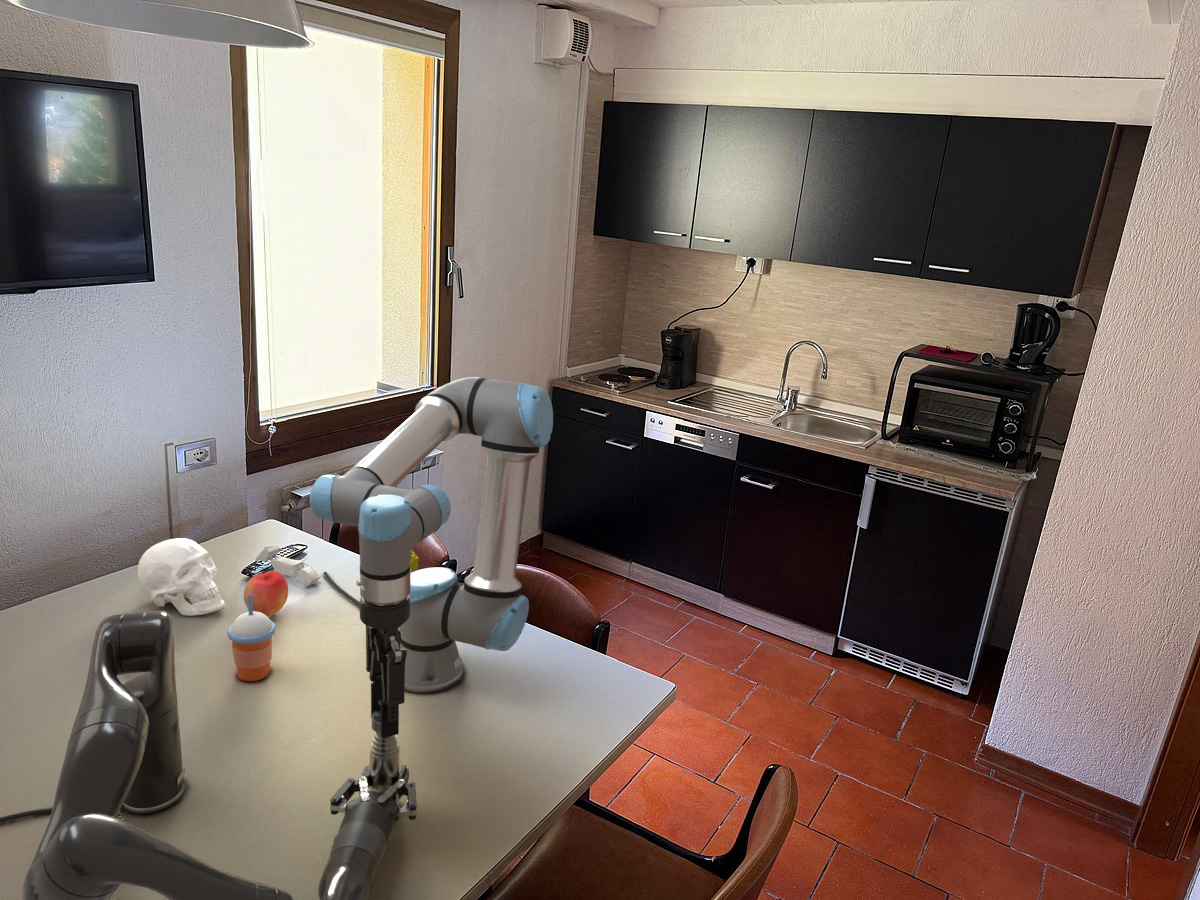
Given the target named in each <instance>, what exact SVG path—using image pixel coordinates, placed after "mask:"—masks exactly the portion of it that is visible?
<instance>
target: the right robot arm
mask: <svg viewBox="0 0 1200 900" xmlns="http://www.w3.org/2000/svg"><path fill="white" fill-rule="evenodd" d="M414 408H415V409H414V413H413V414H412V415H410V416H409V417H408V418H407V419H405V421H404V422H402V423H401V424H400V425H399V426H397V428H396V429H394V430H393V431H392V432H391V433H390V434H389V435H388V436H386V437H385V438H384V439H383V440H382V441H380V442H379V444H377V445H376V446H375V447H374V448H373V449H372V450H371V451H370V452H368V453H367V454H366V455H365V456H364V457H363V458H361V459H360V460H359V461H358V462H357V463H356V464H354V465H353V467H351V468H350V469H349V470H348V471H347V472H346V473H344V474H343V475H341V476H340V475H338V474H324V475H321V476H319V477H318V478H317V479H316V480H315V481H314V483H313V485H312V487H311V489H310V493H309V505H310V510H311V512H312V514H313V515H314V516H315V517H317V518H318V519H322V520H325V521H328V522H332V523H334V524H340V525H346V526H352V527H357V531H358V539H359V540H358V541H359V543H358V544H359V545H358V546H359V579H357V580H356V581H355V582H356V586H357V587H359V595H360V597H359V601H358V600H357V599H355V598H354V597H353V596H352V595H351V594H349V593H348V592H346V591H345V590H344V589H343V588H342V587H340V586H339V585H338V584H337V583H336V582H335V581H334V580H333V578H332V577H331V576H330V575H329V574H328V572H327V571H323V575H324V576H325V578H326V579H327V580H328V581H329V583H330V584H331V585H332V586H333V587H334V588H335V589H336V590H337V591H339V592H340V594H342V595H343V596H344V597H346V598H347V599H349V600H350V601H351V602H353V603H354V604H356V605H357V606H358V607H359V620H360V621H361V623H362V624H363V625H365V663H366V664H365V670H366V672H367V673H369V676H368V677H369V680H370V718H371V719H370V720H372V714H373V713H374V712H375V711H377V710H379V709H381V734H380V736H381V738H385V737H389V736H393V735H396V736H397V735H399V734H400V732H399V731H400V729H399V728H400V705H403V704H405V695H406V693H405V691H407V692H410V693H416V694H430V693H431V694H432V693H438V692H441V691H445V690H447V689H450V688H451V687H453V686H455V685H456V684H457V683H458V682H459V681H460V680H461V679H462V676H463V672H464V664H463V660H462V657H461V656H460V653H459V649H458V646H457V642H459V643H463V644H466V645H467V644H468V645H470V646H471V645H472V646H476V647H479V648H482V649H485V650H489V651H490V650H494V651H499V652H505V651H508V650H510V649H511V648H512V647H513V646H514V645H515V644H516V643H517V641H518V640H519V638H520V636H521V635H522V632H523V630H524V628H525V625H526V623H527V619H528V615H529V610H530V601H529V599H528V597H526V596H525V595H522V594H521V593H522V586H523V585H522V583H521V581H520V580H519V579H518V578H517V575H516V574H517V568H518V567H517V566H518V557H519V549H520V545H521V544H520V543H521V542H520V541H521V535H522V529H523V519H524V512H525V506H526V505H525V504H526V497H527V490H528V489H527V488H528V480H529V473H530V466H531V461H532V460H534V459H535V458H536V457H537V456H538V455H539V454H540V449H541V448H542V447H545V446H547V445H548V444H549V442H550V440H551V434H552V433H553V427H554V409H553V404H552V401H551V397H550V395H549V393H548V392H547V391H546V390H545V388H543V387H540V386H536V385H532V384H528V383H525V382H515V381H506V380H501V379H500V380H498V379H494V378H493V379H492V378H485V377H481V376H467V377H463V378H458V379H456V380H453V381H450V382H448V383H445V384H444V385H441V386H439V387H437V388H435V389H434V390H432V391H430V392H429V393H428V394H427V395H425V396H424V397H422V398H421V400H419V402H417V404H416V405H415V407H414ZM460 434H461V435H462V434H463V435H473V436H477V437H478V436H479V437H481V444H480V448H481V450H483V451H484V453H485V454H486V464H485V465H486V466H485V474H484V481H483V489H482V497H481V504H480V505H481V506H480V512H479V522H478V529H477V536H476V537H477V538H476V545H475V554H474V561H473V570H472V572H471V573H469V574H468V575H467V576H466V577H465V578H464V580H463V581H464V582H460V581H458V580H459V579H458V578H459V577H458V575H457V573H456V571H454V570H453V569H451V568H448V567H434V566H433V567H427V568H421V569H418V570H417V571H415V572H412V573H411V568H410V558H411V550H413V548H414V547H416V546H417V545H418V544H419V543H422V541H424V540H425V539H428V537H430V536H431V535H432V534H434V533H437V532H438V531H439V529H440V528H441V527H442V526H443V525H444V524H445V523H446V522H447V521H448V519H449V518H450V515H451V511H452V507H451V502H450V498H449V497H448V495H447V494H446V492H445V490H443V489H442V488H440V487H439V486H438V485H437V486H436V485H434V484H424V485H423V484H422V485H420V486H417V487H414V488H413V489H409V488H408V489H407V488H403V487H398V485H400V483H401V482H403V481H404V480H405V478H407V477H408V476H409V475H410V474H411V473H412V472H413V471H414V470H415V469H416V468H417V467H418V466H420V464H421V463H422V462H423V461H424V460H425V459H426V458H428V456H429V455H430V454H431V453H432V452H433V451H434V450H435V449H436V448H437V447H438V446H439V445H440V444H441V443H442V442H447V441H450V440H452V439H454V438H455V437H456V436H457V435H460Z"/></svg>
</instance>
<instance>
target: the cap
mask: <svg viewBox="0 0 1200 900" xmlns="http://www.w3.org/2000/svg"><path fill="white" fill-rule="evenodd" d="M371 730H373V732H378V733H381V709H379V710H377V711H375V712H374V713H373V714H372V719H371Z"/></svg>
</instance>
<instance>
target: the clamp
mask: <svg viewBox="0 0 1200 900" xmlns="http://www.w3.org/2000/svg"><path fill="white" fill-rule="evenodd" d="M280 549H281V547H279V546H278V545H277V544H272V545H266V546H264V547H263V549H262V550H261V551H260V552H259V554H258V555H257V556H256V557H255V559H254V562H255V563H256V561H259V560H262V561H268V560H271V562H270V563H269V564H271V565H272V566H273V568H274V571H275V572H278V573H281V574H282V575H283V576H288V577H292V578H296V577H298V578H299V579H300V580H301V582H303V584H304V585H305V587H309V586H312V585H314V584H316V583H318V582H319V580H320V579H321V578H322V577H321V575H320V574H319V573H318V572H317V570H315V569H314V568H313V566H312V565H310V564H309V565H308V564H307V563H305V562H304V561H303V560H301V559H300V560H299V559H292V558H289V557H285V556H278V553H279V551H280ZM273 558H274V559H273ZM272 559H273V560H272ZM305 566H306V567H305ZM270 571H271V570H270Z"/></svg>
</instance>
